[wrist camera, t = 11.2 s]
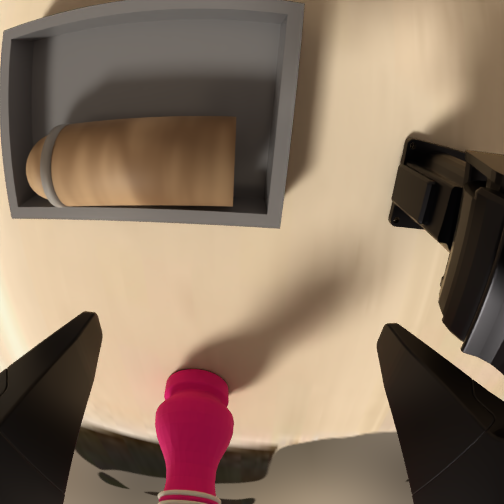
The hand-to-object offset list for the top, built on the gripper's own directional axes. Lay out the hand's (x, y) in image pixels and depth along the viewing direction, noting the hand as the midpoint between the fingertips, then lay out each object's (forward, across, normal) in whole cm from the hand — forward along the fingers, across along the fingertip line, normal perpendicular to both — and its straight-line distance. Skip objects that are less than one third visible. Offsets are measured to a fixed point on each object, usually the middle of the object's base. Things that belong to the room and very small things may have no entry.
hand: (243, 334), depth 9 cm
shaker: (+10, 0, -3) cm, 10 cm away
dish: (+13, +6, -6) cm, 16 cm away
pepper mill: (+13, +3, +20) cm, 24 cm away
